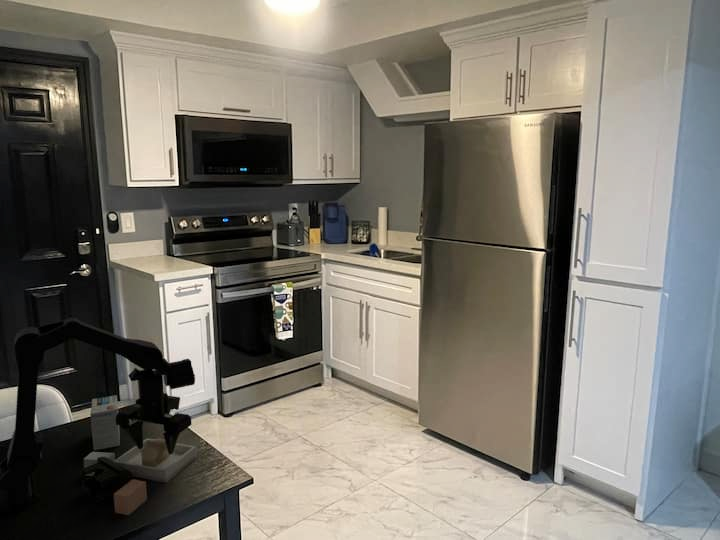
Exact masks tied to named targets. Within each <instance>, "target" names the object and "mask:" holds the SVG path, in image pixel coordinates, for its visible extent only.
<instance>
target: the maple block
mask: <svg viewBox="0 0 720 540" xmlns="http://www.w3.org/2000/svg"><path fill="white" fill-rule="evenodd" d="M141 455H142V465H144V466H149V467H156V466H158V465H159V464H160V463H161V462H163V461H164V460H165V459H167V458H168V457H169V453H168V450H167V446H166V442H165V439H164V438H157V437H156V438H155V440H154V441H152V442H151V443H149V444H148V445H146V446H145V447H144V448H142V449H141Z"/></svg>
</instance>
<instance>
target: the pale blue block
mask: <svg viewBox="0 0 720 540" xmlns="http://www.w3.org/2000/svg"><path fill="white" fill-rule="evenodd" d="M99 457H107V458H109V459H110V460H112V461H114V460H116V454H115V452H106V451H105V452H101V451H91V452H90V453H89V454H88V455H87V456H85V457H84V458H83V468H86V467H88V466H90V465H92V464H95V463H97V462H98V461H97V458H99ZM94 474H95V472H92V473H90V474H86V475H84V476H89V477H91V476H93V475H94Z"/></svg>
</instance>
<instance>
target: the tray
mask: <svg viewBox="0 0 720 540" xmlns="http://www.w3.org/2000/svg"><path fill="white" fill-rule="evenodd" d="M155 439H156V438H155ZM155 439H153V438H145V439H143V448H144V447H145V446H146V445H148V444H149V443H151V442H152V441H154V440H155ZM141 449H142V448H141ZM141 449H138V447H137V446H136V445H134V447H132V448H131V449H129V450H128V451H126V452H124V453H123V454H122V455H120V456H119V457H117V458H115V460H114V462H116V463H117V464H119V465H121V466H123V467H124V468H126V469H128V470H129V471H131V472H132V474H133V478H140V479H145V480H149V481H154V482H160V483H164V484H165V483H166V484H167V483H168V482H169V481H171V480H172V479H173V478H174V477H175V476H177V475H178V474H179V473H180V472H181V471H183V470H184V469H185V467H188V466H189V464H190V463H192V462H193V461H195V460H196V459H197V457H198V455H197V454H198V453H197V451H198V450H197V446H195V445H190V444H184V443H177V442H176V445H175V448H174V451H173V453H172V454H171V455H170V454H169V457H168V458H167V459H165V460H164V461H163V462H161V463H160V464H159V465H158V466H156V467H149V466H144V465H142V455H141Z"/></svg>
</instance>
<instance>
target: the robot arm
mask: <svg viewBox="0 0 720 540" xmlns="http://www.w3.org/2000/svg"><path fill="white" fill-rule="evenodd" d="M70 340H77V341H78V342H79V341H80V342H82V343H84V344H85V343H86V344H87V345H89V346H94V347H96V348H99V349H102V350H104V351H107V352H111V353H113V354H116V355H118V356H121V357H123V358H124V359H126V360H128V361H129V362H131V363H132V364H133V365H135V366H137V367H139V368H141V369H140V370H139V368H137V367H134V369H133V370H132V371H131V372H130V373H129V374H128V378H129V380H130V381H131V382H136V381H137V388H138V398H137V399H135V404H136V405H139V406H131V405H130V406H127V407H126V408H124V409H123V410H121V411H118V414H117V416H116V425H119V429H122V430H123V431H124V432H125V433H126V434H127V436H128V437H129V438H130V439H131V441H132V442H133V443H134V444H135V445H134V446H137V447H138V449H141V448H143V441H144V435H143V424H144V423H148V424H156V425H161V426H163V431H164V433H163V439H165V442H166V446H167V450H168V453H169V454H170V455H171V454H172V453H173V451H174V448H175V445H176V443H177V441H178V439H179V436H180V434H181V433H182V432H183V431H185V430H187V429H188V428H189V427H190V426H192V417H191V416H190V414H185V413H179V412H176V413H175V414H173V415H172V416H170V417H169V416H166V415H169V414H170V413H172V410H175V411H178V410H179V408H180V402H181V397H180V396H174V395H168V393H165V391H164V386H165V387H169V388H170V390H175V389H179V388H185V387H189V386H193V385H195V382H196V375H195V372H194V368H193V366H192V361H191V359H189V358H185V359H182V360H179V361H178V360H177V361H172V362H169V361H167V360H166V358H164V355H163V352H162V351H161V350H160V349H159V347H158V346H157V345H156V344H155V343H153V342H151V341H147V340H142V339H135V338H127V337H123V336H120V335H117V334H116V333H112V332H111V331H107V330H104V329H102V328H99V327H97V326H93V325H91V324H89V323H86V322H83V321H80V320H79V319H78V318H75V317H68V318H66V319H63V320H59V321H57V322H51V323H46V324H43V325H39V326H37V327H35V326H26V327H23V328H21V329H20V330H18V331H17V332H16V334H15V336H14V342H13V343H14V346H13V347H14V354H15V360H16V366H17V372H18V374H17V375H18V377H17V392H16V409H15V410H16V411H15V422H14V423H15V424H14V431H13V434H12V437H11V440H10V444H9V447H8V450H7V455H6V457H5V458H4V459H3V460H2V461H1V462H0V512H2V513H3V512H4V513H7V514H11V515H16V514H18V513H20V512H22V511H23V510H24V509H26V508H28V507H29V506H31V505H32V504H34V503H35V502H37V501H38V500H41V495H40V494H37V489H36V482H35V481H36V480H35V477H34V476H33V472H34V471H35V470H36V469H37V468H38V465H39V462H42V461H43V458H42V457H43V455H42V449H43V433H42V432H38V433H36V432H35V424H36V408H37V407H36V406H37V394H38V393H37V390H38V378H39V375H38V374H39V370H40V368H41V364H42V363H43V358H44V355H45V352H46V351H48V350H52V349H54V348H56V347H58V346H60V345H61V344H63V343H65V342H67V341H70Z"/></svg>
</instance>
